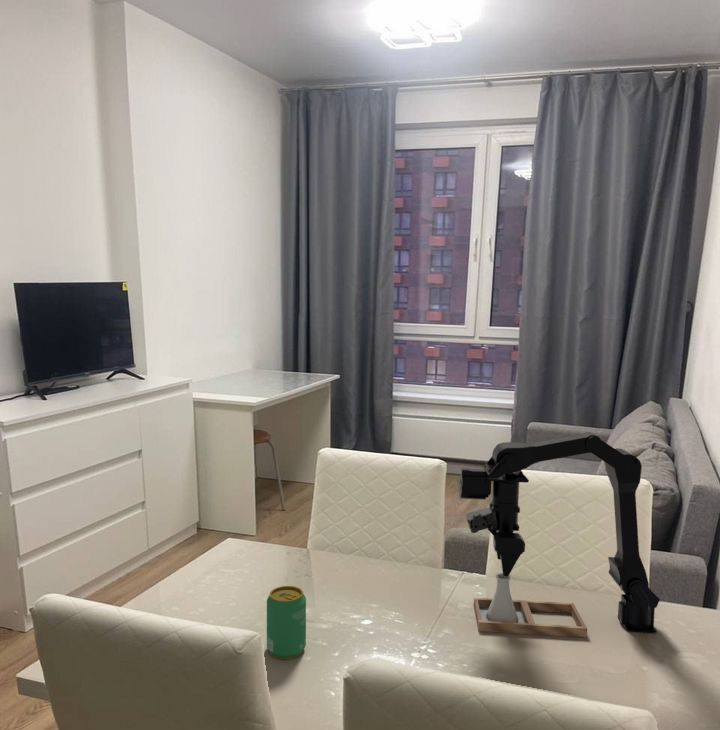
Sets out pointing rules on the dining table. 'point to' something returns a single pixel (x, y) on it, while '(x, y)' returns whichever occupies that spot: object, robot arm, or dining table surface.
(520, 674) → the dining table surface
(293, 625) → the beverage can
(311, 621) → the dining table surface
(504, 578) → the flask
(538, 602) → the caddy
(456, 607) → the dining table surface
